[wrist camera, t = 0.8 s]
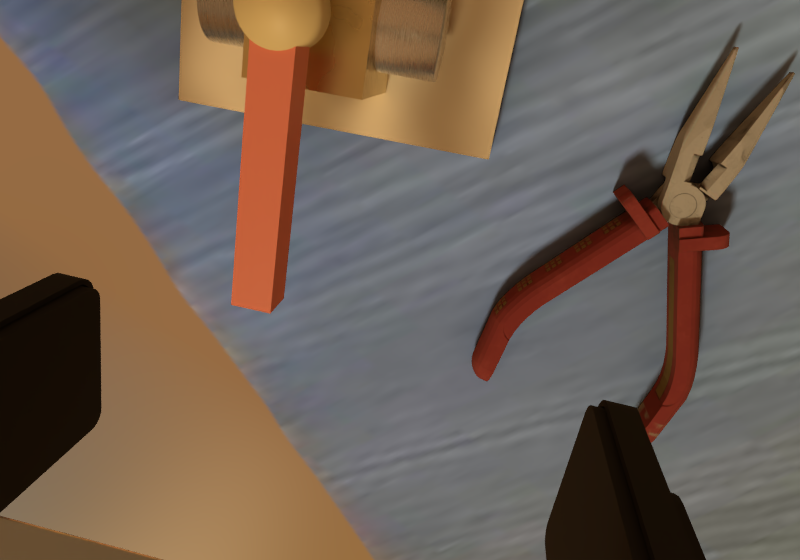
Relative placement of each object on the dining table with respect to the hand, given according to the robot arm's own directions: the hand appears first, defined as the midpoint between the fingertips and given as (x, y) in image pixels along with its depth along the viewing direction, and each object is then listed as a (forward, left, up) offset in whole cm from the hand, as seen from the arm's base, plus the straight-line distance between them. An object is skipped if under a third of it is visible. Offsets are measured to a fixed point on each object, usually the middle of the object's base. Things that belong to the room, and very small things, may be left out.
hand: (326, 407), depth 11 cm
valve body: (+6, -7, -21) cm, 22 cm away
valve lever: (+6, -2, -13) cm, 14 cm away
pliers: (-12, +3, -23) cm, 26 cm away
